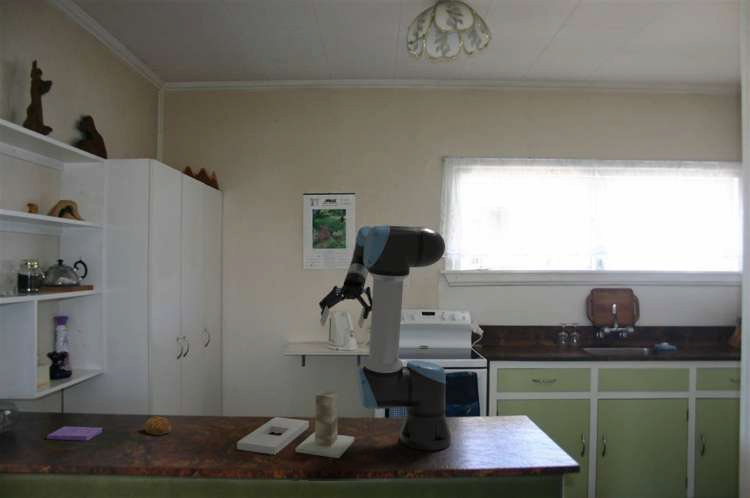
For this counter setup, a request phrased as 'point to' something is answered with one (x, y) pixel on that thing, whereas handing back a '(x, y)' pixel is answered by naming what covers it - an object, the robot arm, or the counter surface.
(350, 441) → the tile
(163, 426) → the pastry
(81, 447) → the counter surface
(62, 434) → the sponges
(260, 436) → the plate with hole
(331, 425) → the peg
